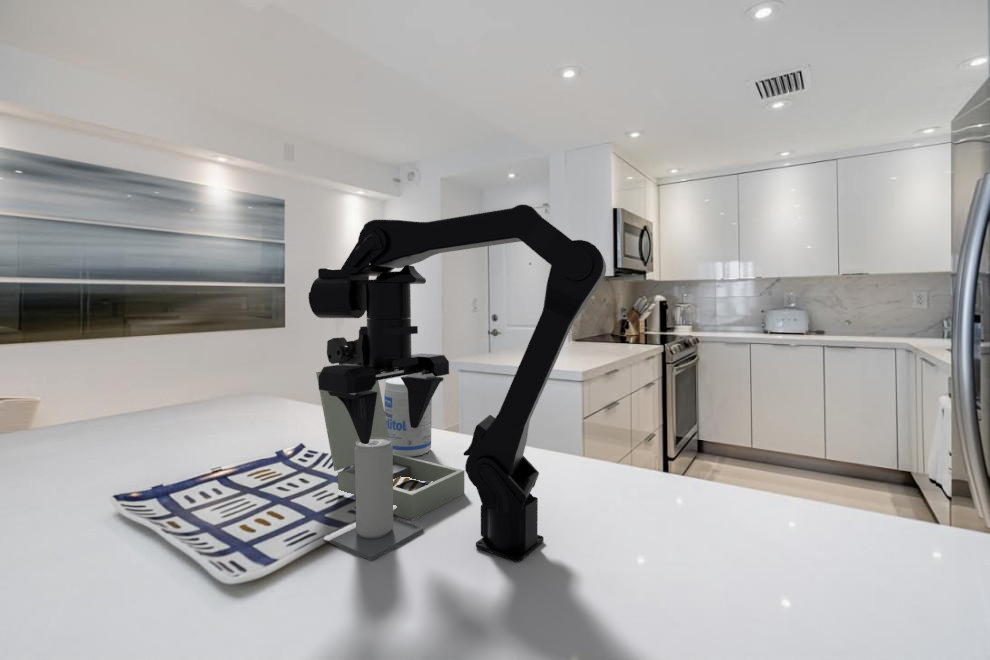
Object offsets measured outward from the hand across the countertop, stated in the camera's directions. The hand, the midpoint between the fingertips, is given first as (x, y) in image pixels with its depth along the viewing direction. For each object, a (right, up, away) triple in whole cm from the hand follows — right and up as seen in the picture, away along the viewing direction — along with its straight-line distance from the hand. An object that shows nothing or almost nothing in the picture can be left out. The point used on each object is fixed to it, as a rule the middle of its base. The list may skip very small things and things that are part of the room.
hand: (390, 435), depth 65 cm
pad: (-2, -13, -1) cm, 13 cm away
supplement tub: (-4, -11, +35) cm, 37 cm away
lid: (-10, 0, +18) cm, 20 cm away
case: (-1, -12, +13) cm, 17 cm away
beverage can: (-2, -13, -1) cm, 13 cm away
